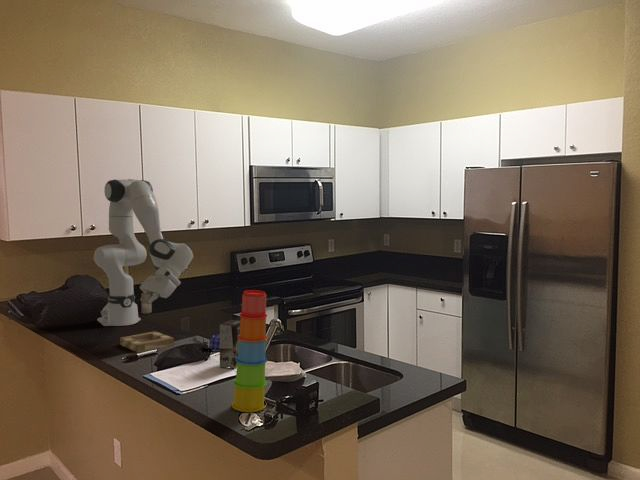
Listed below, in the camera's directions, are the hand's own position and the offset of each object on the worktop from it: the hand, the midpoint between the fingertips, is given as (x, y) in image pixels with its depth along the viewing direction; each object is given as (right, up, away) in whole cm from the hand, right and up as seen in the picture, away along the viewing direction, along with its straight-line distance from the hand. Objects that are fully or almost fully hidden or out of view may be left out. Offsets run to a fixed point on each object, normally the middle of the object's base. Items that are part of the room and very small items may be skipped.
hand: (145, 301), depth 223 cm
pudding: (+31, -19, -2) cm, 36 cm away
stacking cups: (+52, -24, -64) cm, 86 cm away
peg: (0, -5, +1) cm, 5 cm away
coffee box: (+41, -21, -24) cm, 52 cm away
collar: (0, -18, +2) cm, 18 cm away
